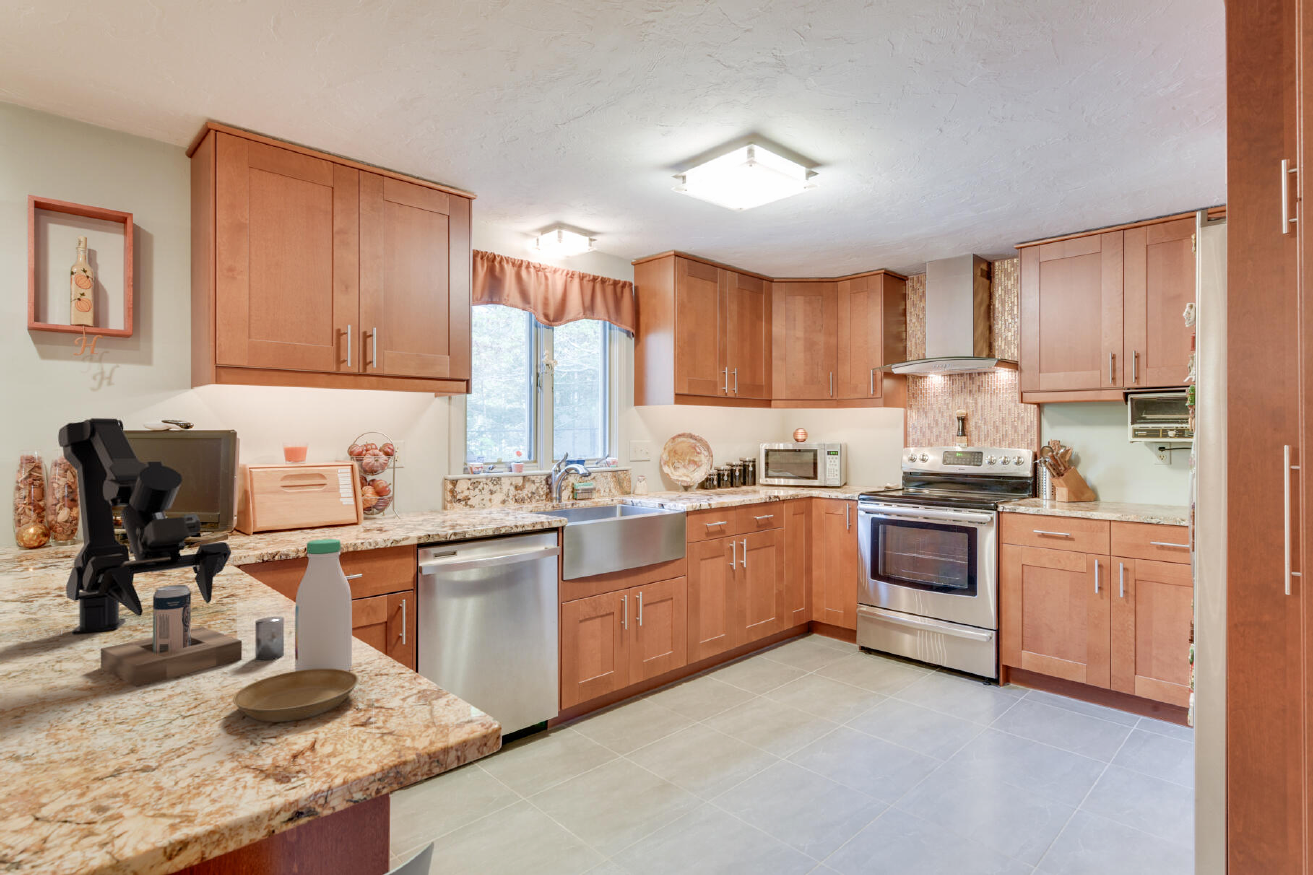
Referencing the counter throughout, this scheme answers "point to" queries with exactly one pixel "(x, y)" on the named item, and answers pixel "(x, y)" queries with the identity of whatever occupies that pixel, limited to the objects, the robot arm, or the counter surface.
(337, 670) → the plant saucer
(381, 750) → the counter surface
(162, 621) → the beer can
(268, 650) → the short steel pin
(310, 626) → the milk bottle
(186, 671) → the walnut collar
